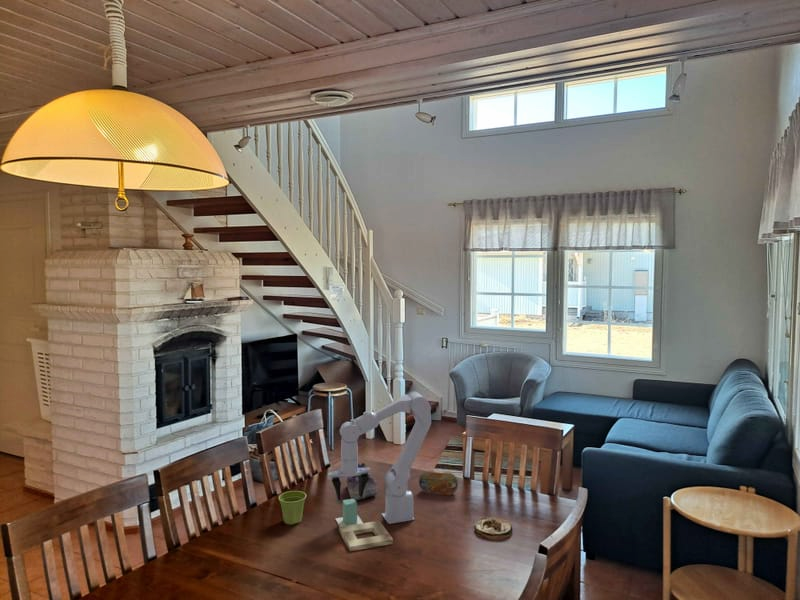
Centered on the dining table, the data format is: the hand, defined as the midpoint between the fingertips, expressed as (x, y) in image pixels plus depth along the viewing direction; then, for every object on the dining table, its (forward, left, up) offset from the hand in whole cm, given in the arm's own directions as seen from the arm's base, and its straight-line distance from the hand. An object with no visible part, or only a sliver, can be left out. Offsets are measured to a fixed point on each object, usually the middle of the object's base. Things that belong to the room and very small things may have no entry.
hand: (349, 497), depth 190 cm
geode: (-11, -25, -9) cm, 29 cm away
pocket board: (-2, +12, -9) cm, 15 cm away
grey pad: (0, 0, -9) cm, 9 cm away
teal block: (0, 0, -8) cm, 8 cm away
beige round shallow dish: (-43, +22, -9) cm, 49 cm away
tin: (-39, -13, -9) cm, 42 cm away
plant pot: (+18, -8, -9) cm, 22 cm away
